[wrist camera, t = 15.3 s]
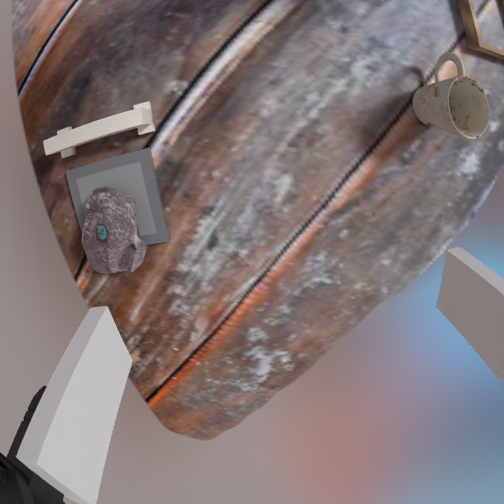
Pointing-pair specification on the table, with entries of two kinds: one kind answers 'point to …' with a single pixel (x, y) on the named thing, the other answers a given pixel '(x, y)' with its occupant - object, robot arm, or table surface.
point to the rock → (112, 232)
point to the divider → (101, 130)
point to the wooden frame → (476, 30)
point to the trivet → (124, 190)
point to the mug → (453, 102)
